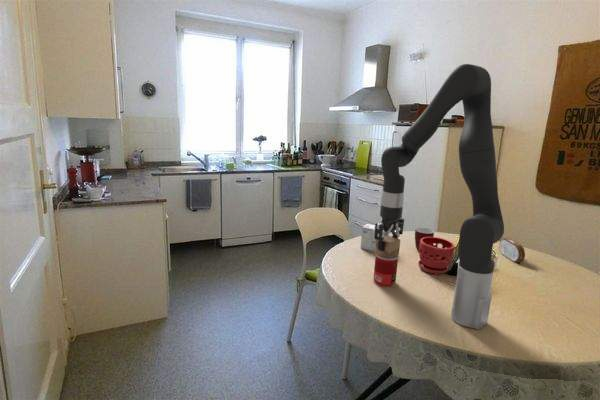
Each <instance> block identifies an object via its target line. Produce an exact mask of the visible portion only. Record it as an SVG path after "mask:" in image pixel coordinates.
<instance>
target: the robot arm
mask: <svg viewBox="0 0 600 400" xmlns="http://www.w3.org/2000/svg"><path fill="white" fill-rule="evenodd" d="M488 71H489V70H487V69H486V68H484V67H483V66H479V65H475V64H472V63H471V64H470V63H464V64H460V65H458V66H456V67H455V68H453V70H452V71H451V72H450V74H449V75H448V76H447V78H445V80H444V82H443V84H442V85H441V87H440V88H439V90H438V91H437V93H436V94H435V95H434V97H433V98H432V100H431V102H429V104H428V105H427V107H426V108H425V109H424V110H423V111H422V113H421V114H420V116H419V117H418V118H417V119H416V120H414V122H413V123H412V124H411V125H410V126H409V127H408V129H407V130H406V131H405V132H404V134H403V135H402V137H401V144H400V145H398V146H389V147H386V148H385V149H384V151H383V152H382V155H381V157H380V159H381V170H382V176H383V177H382V178H383V183H382V184H383V186H382V194H381V197H380V198H381V200H380V207H379V208H380V209H379V210H380V212H379V216H380V218H382V219H381V222H380V223H378V222H375V224H374V225H375V236H374V239H376V240H378V250H379V251H384V247H385V239H386V237H387V236H390V233H391V237H394V238H397V239H399V237H400V236H401V235H403V234H404V233H403V232H404V227H405V219H404V218H402V217H403V209H404V199H405V198H404V191H405V183H406V181H405V180H406V179H405V177H404V175H402V174H400V168H404V167H406V166H408V165H409V164H410V163H411V162H412V161H413V160H414V159H415V157H416V155H417V154H418V152H419V151H420V148H422V147H423V146H424V145H426V143H427V142H428V141H429V140H430V139H431V138H432V137H433V136H434V134H435V133H436V132H437V130H439V129H438V128H439V126H441V123H442V121H443V119H444V118H445V117H446V115H447V114H448V113H449V111H451V110H452V108H454V107H455V106H456V105H457V104H459V103H460V102H461V101H462V106H463V115H464V119H463V120H464V122H463V127H462V130H461V135H460V138H459V142H458V161H459V167H460V168H459V169H460V173H461V175H462V178H463V179H464V183H465V184H466V186H467V188H468V191H469V193H470V196H471V201H472V216H470V217H467V218H466V219H465V220H464V221H463V222H462V224H461V227H460V232H459V239H458V249H457V256H458V259H459V260H458V261H459V262H458V269H457V274H456V282H455V289H454V294H453V301H452V306H451V315H450V317H451V319H452V320H453V322H455V323H457V324H459V325H460V326H463V327H465V328H469V329H470V328H471V329H475V330H478V331H479V330H480V329H482V328H483V327H484V326H485V325H487V324H488V319H489V315H490V309H491V303H492V297H493V295H492V293H490V292H491V287H492V282H493V276H494V270H495V266H496V265H495V261H494V260H493V258H492V254H493V249H494V247H493V246H494V244H496V243H498V242H500V240H501V239H502V238H503V235H504V233H505V225H504V223H505V222H504V220H503V219H504V218H503V214H502V209H501V205H500V200H499V199H500V198H499V193H498V189H499V188H498V176H497V175H498V173H497V159H496V150H495V149H496V148H495V141H494V140H495V139H494V133H493V121H492V112H491V111H492V110H491V109H492V107H491V105H492V102H491V101H492V78H491V74H490V73H489V72H488ZM383 230H384V232H383ZM385 232H386V233H385ZM378 234H379V236H378ZM382 235H384V236H383V238H382Z"/></svg>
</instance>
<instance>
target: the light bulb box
mask: <svg viewBox="0 0 600 400" xmlns="http://www.w3.org/2000/svg"><path fill="white" fill-rule="evenodd" d="M383 232H384V230H383ZM385 233H386V232H385ZM374 236H375V224H371V223H366V224H364V225H363V226H362V228H361V239H360V249H362V250H365V251H369V252H373V253H375V249H376V239H374ZM378 236H379V234H378ZM382 236H384V235H382Z"/></svg>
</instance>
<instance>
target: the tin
mask: <svg viewBox="0 0 600 400" xmlns="http://www.w3.org/2000/svg"><path fill="white" fill-rule="evenodd" d="M498 245H499V246H498V249H499V252H500V254H501V255H502V256H504V257H505V258H506V259H508V260H510V261H511V262H513V263H522V262H524V260H525V257H526V251H525V247H524V246H523V244H521V243H519V242H518V241H516V240H514V239H512V237H502V238H501V239H500V240H499V244H498Z"/></svg>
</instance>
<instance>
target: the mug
mask: <svg viewBox="0 0 600 400" xmlns="http://www.w3.org/2000/svg"><path fill="white" fill-rule="evenodd" d="M434 233H435V232H434V230H432V229H429V228H424V227H417V228H415V231H414V243H415V248H416V250H417V252H418V253H419V245H420V240H421V239H422V238H423V237H435V236H434V235H435V234H434ZM430 244H431V243H428V245H430Z"/></svg>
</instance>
